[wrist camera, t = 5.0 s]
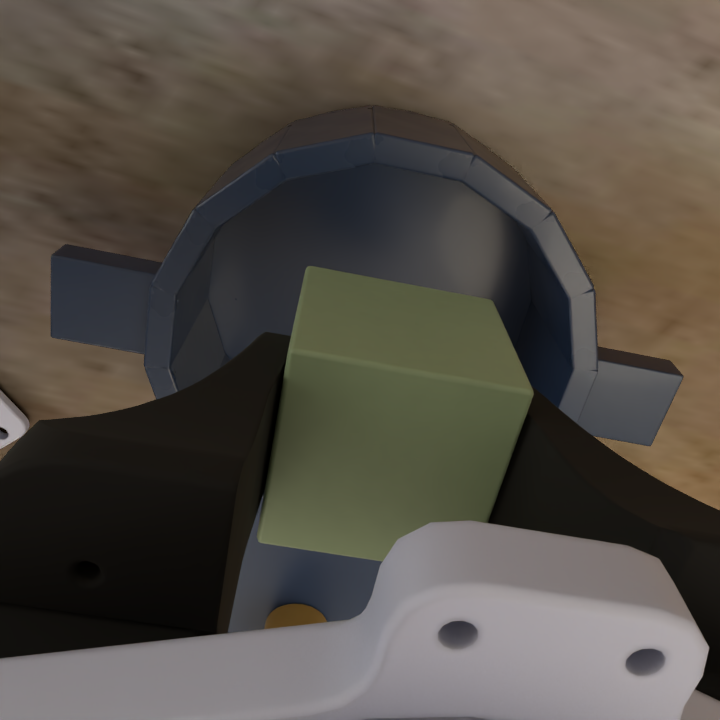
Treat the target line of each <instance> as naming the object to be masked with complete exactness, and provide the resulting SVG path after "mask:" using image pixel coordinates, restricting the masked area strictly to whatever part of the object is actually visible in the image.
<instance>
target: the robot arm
mask: <svg viewBox="0 0 720 720" xmlns="http://www.w3.org/2000/svg"><path fill="white" fill-rule="evenodd" d="M290 339H291V336H288V335H282V334H277V333H271V332H264V333H263V334H261V335H259V336H258V337H257V338H256V339H255V340H254V341H253V342H252V343H251V344H250V345H249V346H247V347H246V348H245V349H244V350H243V351H242V352H240V353H239V354H238V355H237V356H235V357H234V358H233V359H231V360H230V361H229V362H227V363H226V364H225V365H224V366H222V367H221V368H219V369H218V370H216V371H215V372H213V373H211V374H210V375H208V376H207V377H205V378H204V379H202V380H201V381H199V382H197V383H195V384H193V385H191V386H189V387H187V388H185V389H182V390H180V391H178V392H176V393H173V394H171V395H168V396H165V397H162V398H159V399H156V400H153V401H150V402H147V403H144V404H141V405H138V406H135V407H131V408H127V409H123V410H118V411H114V412H108V413H103V414H98V415H91V416H84V417H74V418H63V419H53V420H39V421H38V422H37V423H36V424H35V425H34V426H33V427H32V428H31V429H30V430H29V431H28V432H27V433H26V431H27V430H28V429H29V420H28V419H27V417H26V416H25V415H24V414H23V413H22V412H21V411H20V410H19V409H18V408H17V407H16V406H15V404H14V403H13V402H12V401H11V400H10V399H9V398H8V397H7V396H6V395H5V394H4V393H3V392H2V391H1V390H0V427H1V428H4V429H5V430H7V432H8V434H7V433H3V432H2V431H1V430H0V449H1V448H3V447H5V446H7V445H8V444H10V443H12V442H13V441H15V440H17V439H18V438H20V437H21V438H20V439H19V440H18V441H17V443H16V444H15V445H14V446H13V447H12V448H11V449H10V450H9V451H8V452H7V454H6V455H5V456H4V457H3V459H2V460H1V461H0V720H720V510H717V509H715V508H713V507H711V506H709V505H706V504H704V503H702V502H700V501H698V500H696V499H694V498H692V497H690V496H688V495H686V494H684V493H682V492H680V491H678V490H676V489H674V488H672V487H670V486H669V485H667V484H665V483H663V482H661V481H660V480H658V479H656V478H654V477H653V476H651V475H649V474H648V473H646V472H645V471H643V470H641V469H640V468H638V467H636V466H635V465H633V464H632V463H630V462H628V461H627V460H625V459H624V458H622V457H621V456H619V455H618V454H616V453H615V452H614V451H612V450H611V449H609V448H608V447H607V446H605V445H604V444H603V443H601V442H600V441H599V440H597V439H596V438H595V437H593V436H592V435H591V434H589V433H588V432H587V431H586V430H584V429H583V428H582V427H581V426H579V425H578V424H577V423H576V422H574V421H573V420H572V419H571V418H570V417H568V416H567V415H566V414H565V413H564V412H562V411H561V410H560V409H559V408H558V407H556V406H555V405H554V404H553V403H552V402H551V401H549V400H548V399H547V398H546V397H545V396H544V395H542V394H541V393H540V392H539V391H537V390H536V389H535V388H534V387H533V386H531V387H532V389H533V393H534V395H533V398H532V401H531V404H530V406H529V409H528V412H527V415H526V417H525V420H524V423H523V426H522V429H521V431H520V434H519V437H518V440H517V443H516V445H515V448H514V451H513V454H512V457H511V459H510V462H509V465H508V468H507V471H506V473H505V476H504V479H503V482H502V485H501V487H500V490H499V493H498V496H497V498H496V501H495V504H494V507H493V510H492V512H491V515H490V518H489V521H488V523H483V522H477V521H471V520H468V521H448V522H431V523H429V524H427V525H425V526H423V527H421V528H419V529H417V530H415V531H413V532H411V533H409V534H407V535H405V536H403V537H401V538H399V539H397V541H396V542H395V544H394V545H393V547H392V548H391V550H390V551H389V553H388V554H387V556H386V557H385V559H384V560H383V562H382V563H381V565H380V567H379V571H378V575H377V578H376V582H375V585H374V589H373V593H372V596H371V598H370V600H369V602H368V605H367V607H366V609H365V610H364V611H363V612H362V613H361V614H360V615H358V616H356V617H354V618H352V619H349V620H342V621H333V622H324V623H315V624H306V625H297V626H288V627H279V628H270V629H261V630H252V631H243V632H234V633H228V629H229V624H230V619H231V614H232V609H233V604H234V599H235V594H236V589H237V585H238V580H239V575H240V570H241V565H242V561H243V557H244V554H245V550H246V546H247V543H248V540H249V537H250V533H251V530H252V527H253V524H254V521H255V518H256V515H257V512H258V509H259V506H260V503H261V500H262V496H263V493H264V490H265V484H266V478H267V472H268V466H269V461H270V455H271V449H272V443H273V437H274V431H275V425H276V419H277V413H278V407H279V401H280V395H281V389H282V383H283V377H284V371H285V365H286V359H287V353H288V348H289V343H290ZM25 433H26V434H25ZM24 434H25V435H24ZM23 435H24V436H23Z"/></svg>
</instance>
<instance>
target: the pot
mask: <svg viewBox="0 0 720 720" xmlns="http://www.w3.org/2000/svg"><path fill="white" fill-rule="evenodd" d="M308 266H314V267H319V268H325V269H330V270H335V271H341V272H346V273H351V274H357V275H362V276H367V277H373V278H378V279H383V280H389V281H394V282H399V283H405V284H410V285H415V286H421V287H426V288H431V289H437V290H442V291H447V292H452V293H458V294H463V295H468V296H474V297H479V298H484V299H490V300H492V301H493V302H494V305H495V307H496V309H497V311H498V313H499V316H500V318H501V320H502V322H503V324H504V327H505V329H506V331H507V333H508V336H509V338H510V340H511V342H512V344H513V347H514V349H515V351H516V353H517V356H518V358H519V360H520V362H521V364H522V367H523V369H524V371H525V373H526V376H527V378H528V380H529V382H530V384H531V386H533V387H534V388H535V389H536V390H537V391H539V392H540V393H541V394H542V395H544V396H545V397H546V398H547V399H548V400H549V401H551V402H552V403H553V404H554V405H555V406H556V407H558V408H559V409H560V410H561V411H562V412H564V413H565V414H566V415H567V416H568V417H570V418H571V419H572V420H573V421H574V422H576V423H577V424H578V425H579V426H581V427H582V428H583V429H584V430H586V431H587V432H588V433H589V434H591V435H592V436H596V437H602V438H607V439H613V440H618V441H624V442H629V443H635V444H640V445H646V446H651V445H652V443H653V440H654V438H655V436H656V434H657V432H658V430H659V428H660V426H661V424H662V421H663V419H664V417H665V415H666V413H667V411H668V409H669V407H670V405H671V403H672V400H673V398H674V396H675V394H676V392H677V390H678V388H679V386H680V384H681V381H682V379H683V375H682V374H681V372H680V371H679V370H678V369H677V368H676V367H675V366H674V364H673V363H672V362H671V361H670V360H665V359H660V358H655V357H649V356H644V355H639V354H634V353H629V352H624V351H618V350H613V349H608V348H603V347H598V345H597V320H596V296H595V290H594V285H593V283H592V281H591V279H590V278H589V276H588V274H587V272H586V270H585V268H584V266H583V265H582V263H581V261H580V259H579V257H578V255H577V253H576V252H575V250H574V248H573V246H572V244H571V242H570V240H569V239H568V237H567V235H566V233H565V231H564V229H563V227H562V226H561V224H560V222H559V220H558V218H557V216H556V214H555V213H554V212H553V211H552V210H551V208H550V207H549V206H548V205H547V204H546V203H545V202H544V201H543V199H542V198H541V197H540V196H539V195H538V194H537V193H536V192H535V191H534V190H533V189H532V188H531V187H530V186H529V185H528V184H527V182H526V181H525V180H524V179H523V178H522V177H521V176H520V175H519V174H518V173H517V172H516V171H515V170H514V169H513V168H512V167H511V166H510V165H509V164H507V163H506V162H505V161H503V160H502V159H501V158H499V157H498V156H497V155H495V154H494V153H493V152H491V151H490V150H488V149H487V148H486V147H485V146H484V145H483V144H481V143H480V142H479V141H477V140H475V139H474V138H472V137H471V136H470V135H468V134H467V133H465V132H464V131H463V130H461V129H460V128H459V127H457V126H456V125H455V124H453V123H450V122H449V121H444V120H440V119H435V118H432V117H428V116H425V115H421V114H418V113H415V112H411V111H404V110H397V109H391V108H385V107H380V106H376V105H375V106H373V107H372V106H370V105H369V106H364V107H359V108H352V109H344V110H336V111H331V112H327V113H324V114H320V115H317V116H313V117H309V118H305V119H300V120H296V121H294V122H291V123H289V124H288V125H287V126H285V127H284V128H282V129H281V130H280V131H278V132H277V133H275V134H274V135H272V136H271V137H269V138H267V139H266V140H264V141H262V142H261V143H260V144H259V145H258V146H256V147H255V148H254V149H253V150H251V151H250V152H249V153H247V154H246V155H244V156H243V157H242V158H240V159H239V160H237V161H236V162H235V163H233V164H232V165H231V166H230V167H229V168H228V169H227V170H226V171H225V173H224V174H223V175H222V176H221V177H220V179H219V180H218V181H217V182H216V183H215V184H214V186H213V187H212V188H211V189H210V190H209V191H208V193H207V194H206V195H205V196H204V197H203V198H202V200H201V201H200V202H199V203H198V204H197V205H196V207H195V208H194V209H193V210H192V212H191V214H190V215H189V217H188V219H187V220H186V222H185V224H184V226H183V227H182V229H181V231H180V233H179V234H178V236H177V238H176V240H175V241H174V243H173V245H172V247H171V248H170V250H169V252H168V254H167V255H166V257H165V259H164V261H163V262H162V263H161V262H156V261H151V260H146V259H141V258H136V257H130V256H125V255H120V254H115V253H110V252H104V251H99V250H94V249H89V248H84V247H79V246H73V245H68V244H65V245H64V246H62V247H61V248H60V249H58V250H57V251H56V252H55V253H53V254H52V256H51V337H52V338H57V339H62V340H68V341H73V342H79V343H84V344H90V345H96V346H101V347H107V348H112V349H118V350H123V351H129V352H134V353H140V354H145V357H144V366H145V370H146V373H147V376H148V378H149V381H150V384H151V386H152V389H153V392H154V394H155V397H156V399H159V398H162V397H165V396H168V395H171V394H173V393H176V392H178V391H180V390H182V389H185V388H187V387H189V386H191V385H193V384H195V383H197V382H199V381H201V380H202V379H204V378H205V377H207V376H208V375H210V374H211V373H213V372H215V371H216V370H218V369H219V368H221V367H222V366H224V365H225V364H226V363H227V362H229V361H230V360H231V359H233V358H234V357H235V356H237V355H238V354H239V353H240V352H242V351H243V350H244V349H245V348H246V347H247V346H249V345H250V344H251V343H252V342H253V341H254V340H255V339H256V338H257V337H258V336H259V335H261V334H263V333H264V332H271V333H277V334H282V335H288V336H291V334H292V330H293V325H294V320H295V316H296V311H297V306H298V302H299V297H300V293H301V288H302V283H303V279H304V274H305V270H306V268H307V267H308ZM263 496H264V493H263ZM263 496H262V500H261V503H260V506H259V509H258V512H257V514H259V515H260V514H261V508H262V502H263Z"/></svg>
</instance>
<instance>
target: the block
mask: <svg viewBox="0 0 720 720" xmlns="http://www.w3.org/2000/svg"><path fill="white" fill-rule="evenodd" d="M533 395H534V393H533V389H532V387H531V384H530V382H529V380H528V378H527V376H526V373H525V371H524V369H523V367H522V364H521V362H520V360H519V358H518V356H517V353H516V351H515V349H514V347H513V344H512V342H511V340H510V338H509V336H508V333H507V331H506V329H505V327H504V324H503V322H502V320H501V318H500V316H499V313H498V311H497V309H496V307H495V305H494V302H493V301H492V300H490V299H484V298H479V297H474V296H468V295H463V294H458V293H452V292H447V291H442V290H437V289H431V288H426V287H421V286H415V285H410V284H405V283H399V282H394V281H389V280H383V279H378V278H373V277H367V276H362V275H357V274H351V273H346V272H341V271H335V270H330V269H325V268H319V267H314V266H308V267H307V268H306V270H305V274H304V279H303V283H302V288H301V293H300V297H299V302H298V306H297V311H296V316H295V320H294V325H293V330H292V334H291V339H290V343H289V348H288V353H287V359H286V365H285V371H284V377H283V383H282V389H281V395H280V401H279V407H278V413H277V419H276V425H275V431H274V437H273V443H272V449H271V455H270V461H269V466H268V472H267V478H266V484H265V490H264V496H263V502H262V508H261V514H260V520H259V526H258V532H257V539H258V542H260V543H264V544H271V545H277V546H284V547H290V548H297V549H304V550H310V551H317V552H323V553H330V554H336V555H343V556H350V557H356V558H363V559H369V560H376V561H382V562H383V560H384V559H385V557H386V556H387V554H388V553H389V551H390V550H391V548H392V547H393V545H394V544H395V542H396V541H397V539H399V538H401V537H403V536H405V535H407V534H409V533H411V532H413V531H415V530H417V529H419V528H421V527H423V526H425V525H427V524H429V523H431V522H448V521H468V520H471V521H477V522H483V523H488V521H489V518H490V515H491V512H492V510H493V507H494V504H495V501H496V498H497V496H498V493H499V490H500V487H501V485H502V482H503V479H504V476H505V473H506V471H507V468H508V465H509V462H510V459H511V457H512V454H513V451H514V448H515V445H516V443H517V440H518V437H519V434H520V431H521V429H522V426H523V423H524V420H525V417H526V415H527V412H528V409H529V406H530V404H531V401H532V398H533Z"/></svg>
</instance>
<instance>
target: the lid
mask: <svg viewBox="0 0 720 720" xmlns="http://www.w3.org/2000/svg"><path fill="white" fill-rule="evenodd" d="M259 520H260V515H259V514H257V515H256V518H255V521H254V524H253V527H252V530H251V533H250V537H249V540H248V543H247V546H246V550H245V554H244V557H243V561H242V565H241V570H240V575H239V580H238V585H237V589H236V594H235V599H234V604H233V609H232V614H231V619H230V624H229V629H228V633H234V632H243V631H252V630H261V629H270V628H279V627H288V626H297V625H306V624H315V623H324V622H333V621H342V620H349V619H352V618H354V617H356V616H358V615H360V614H361V613H362V612H363V611H364V610H365V609H366V607H367V605H368V602H369V600H370V598H371V596H372V593H373V589H374V585H375V582H376V578H377V575H378V571H379V567H380V565H381V563H382V561H376V560H369V559H363V558H356V557H350V556H343V555H336V554H330V553H323V552H317V551H310V550H304V549H297V548H290V547H284V546H277V545H271V544H264V543H260V542H258V539H257V532H258V526H259Z"/></svg>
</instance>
